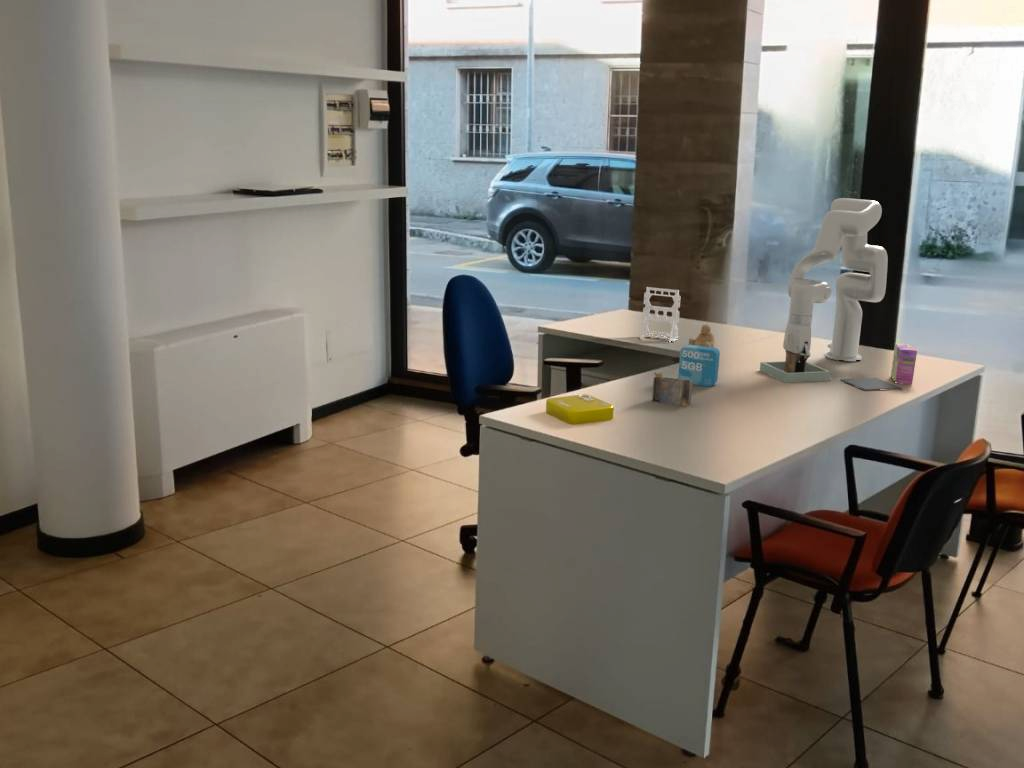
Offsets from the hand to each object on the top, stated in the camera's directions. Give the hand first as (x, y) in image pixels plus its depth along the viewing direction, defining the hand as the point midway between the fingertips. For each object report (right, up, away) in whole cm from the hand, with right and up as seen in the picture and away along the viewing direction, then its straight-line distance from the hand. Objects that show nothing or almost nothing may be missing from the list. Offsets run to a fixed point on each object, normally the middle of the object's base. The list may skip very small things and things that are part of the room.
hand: (794, 371), depth 359 cm
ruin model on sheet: (-48, -11, -40) cm, 64 cm away
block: (0, -1, 0) cm, 2 cm away
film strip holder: (-39, +13, +54) cm, 67 cm away
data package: (-36, -4, -15) cm, 39 cm away
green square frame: (0, -1, 0) cm, 1 cm away
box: (+36, -3, -1) cm, 36 cm away
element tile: (-77, -14, -58) cm, 97 cm away
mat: (+23, -5, -9) cm, 25 cm away
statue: (-29, +4, +21) cm, 36 cm away
